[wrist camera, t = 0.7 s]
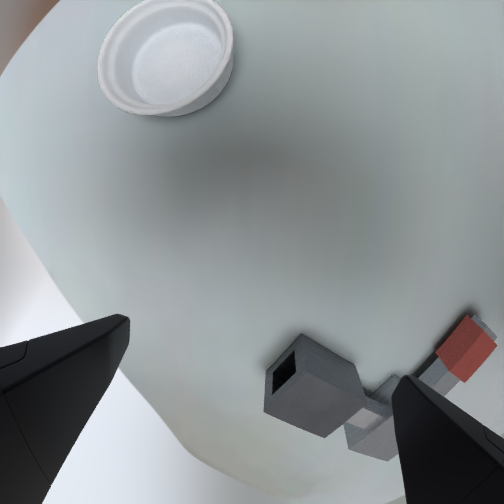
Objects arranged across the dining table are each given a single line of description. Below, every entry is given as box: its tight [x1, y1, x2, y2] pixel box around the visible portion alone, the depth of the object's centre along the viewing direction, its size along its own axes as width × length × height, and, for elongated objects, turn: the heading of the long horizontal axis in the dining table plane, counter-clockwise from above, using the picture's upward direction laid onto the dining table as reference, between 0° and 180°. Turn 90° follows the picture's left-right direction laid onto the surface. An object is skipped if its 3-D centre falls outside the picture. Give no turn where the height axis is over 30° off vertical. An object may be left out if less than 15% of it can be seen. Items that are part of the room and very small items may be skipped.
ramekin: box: [97, 0, 234, 117], centre depth 16 cm, size 9×9×4 cm
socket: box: [264, 334, 368, 438], centre depth 21 cm, size 6×5×5 cm
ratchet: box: [344, 314, 497, 461], centre depth 21 cm, size 12×16×4 cm
